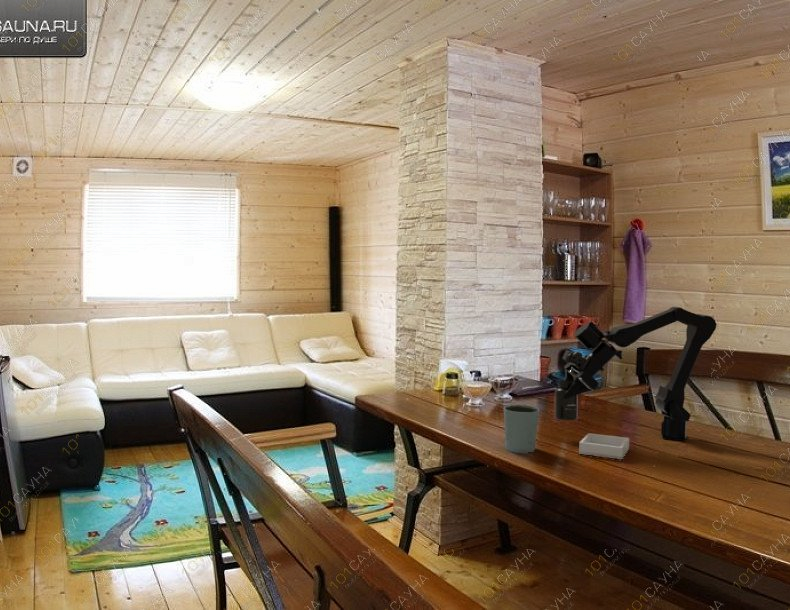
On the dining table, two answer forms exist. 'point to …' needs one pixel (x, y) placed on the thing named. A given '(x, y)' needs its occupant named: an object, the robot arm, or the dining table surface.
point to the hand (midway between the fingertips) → (561, 395)
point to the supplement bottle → (565, 402)
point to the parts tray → (604, 446)
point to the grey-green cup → (520, 428)
